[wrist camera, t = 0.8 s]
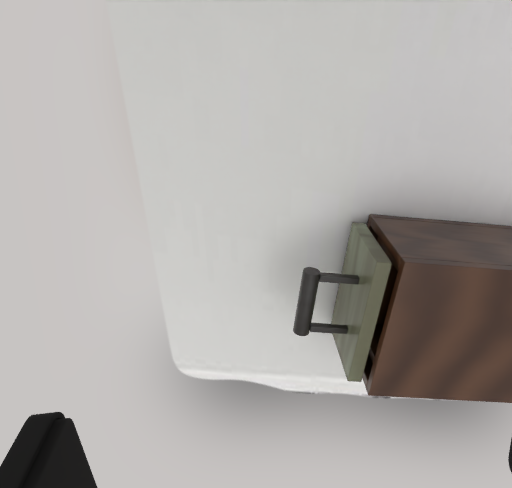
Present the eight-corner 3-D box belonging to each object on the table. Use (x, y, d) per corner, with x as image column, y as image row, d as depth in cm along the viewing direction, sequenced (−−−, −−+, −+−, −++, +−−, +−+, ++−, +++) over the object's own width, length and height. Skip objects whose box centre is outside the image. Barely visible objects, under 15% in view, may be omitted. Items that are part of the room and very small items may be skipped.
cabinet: (343, 327, 46) (368, 395, 38) (369, 213, 41) (405, 262, 32) (478, 336, 48) (533, 404, 39) (520, 226, 42) (594, 276, 34)
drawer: (283, 323, 45) (292, 378, 38) (300, 217, 40) (314, 257, 33) (458, 335, 46) (499, 389, 39) (495, 234, 41) (548, 275, 34)
